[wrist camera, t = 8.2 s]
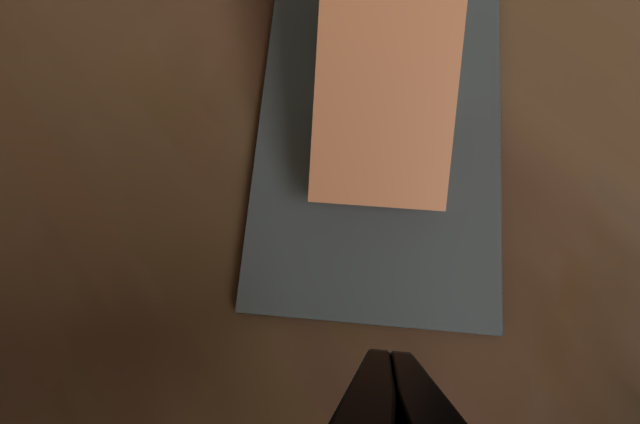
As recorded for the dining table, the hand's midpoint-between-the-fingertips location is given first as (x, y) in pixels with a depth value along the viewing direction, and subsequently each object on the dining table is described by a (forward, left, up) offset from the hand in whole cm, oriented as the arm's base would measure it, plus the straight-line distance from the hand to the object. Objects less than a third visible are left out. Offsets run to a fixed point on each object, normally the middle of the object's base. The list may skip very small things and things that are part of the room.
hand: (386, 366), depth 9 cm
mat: (+12, +3, -8) cm, 15 cm away
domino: (+5, +1, -7) cm, 9 cm away
